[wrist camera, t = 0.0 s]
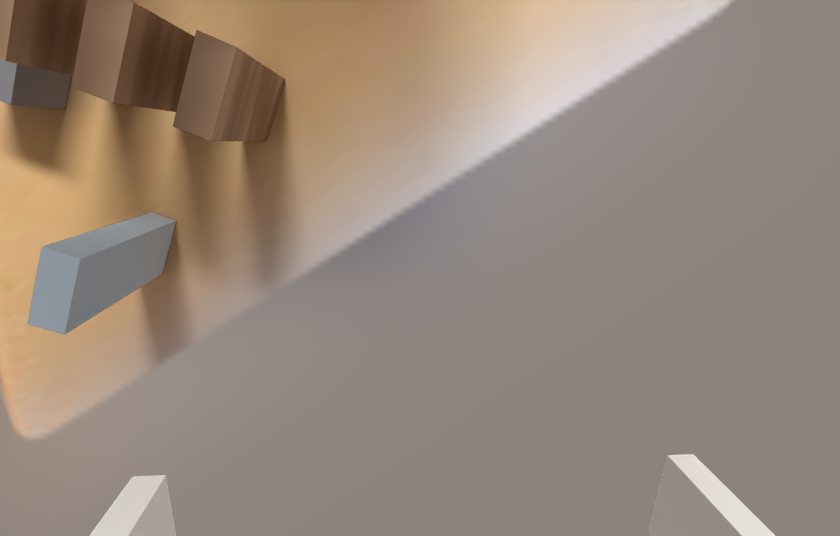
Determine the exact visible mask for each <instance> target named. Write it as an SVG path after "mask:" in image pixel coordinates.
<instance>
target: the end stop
mask: <svg viewBox="0 0 840 536" xmlns="http://www.w3.org/2000/svg"><path fill="white" fill-rule="evenodd" d="M71 76H72V75H68V74H64V73H59V72H54V71H49V70H45V69H40V68H35V67H31V66H26V65H21V64H17V63H12V62H7V61H4V60H1V59H0V101H3V102H5V103H8V104H11V105H20V106H30V107H41V108H51V109H61V110H65V108H66V103H67V97H68V92H69V86H70V81H71Z"/></svg>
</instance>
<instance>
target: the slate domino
mask: <svg viewBox="0 0 840 536" xmlns="http://www.w3.org/2000/svg"><path fill="white" fill-rule="evenodd" d="M175 224H176V220H173V219H170V218H167V217H164V216H161V215H159V214H156V213H153V212H150V213H147V214H144V215H141V216H137V217H134V218H131V219H128V220H125V221H122V222H119V223H115V224H112V225H109V226H106V227H103V228H100V229H96V230H93V231H90V232H87V233H84V234H81V235H78V236H74V237H71V238H68V239H65V240H62V241H59V242H56V243H52V244H49V245H46V246H43V247H42V248H41V253H40V259H39V264H38V270H37V275H36V280H35V286H34V291H33V297H32V302H31V308H30V313H29V318H28V324H29V325H33V326H36V327H40V328H43V329H47V330H50V331H54V332H57V333H61V334H66V333H68V332H69V331H71V330H72V329H74V328H76V327H77V326H79V325H81V324H82V323H84V322H85V321H87V320H89V319H90V318H92V317H93V316H95V315H97V314H98V313H100V312H101V311H103V310H105V309H106V308H108V307H110V306H111V305H113V304H114V303H116V302H118V301H119V300H121V299H122V298H124V297H126V296H127V295H129V294H130V293H132V292H134V291H135V290H137V289H138V288H140V287H142V286H143V285H145V284H147V283H148V282H150V281H151V280H153V279H155V278H156V277H158V276H159V275H161V274H162V273H163V270H164V266H165V262H166V258H167V254H168V250H169V247H170V243H171V239H172V235H173V231H174V228H175Z"/></svg>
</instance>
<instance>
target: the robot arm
mask: <svg viewBox="0 0 840 536" xmlns="http://www.w3.org/2000/svg"><path fill="white" fill-rule="evenodd" d="M648 533H649V535H650V536H775V535H774V534H773V533H772V532H771V531H770V530H769V529H768V528H767V527H766V526H765V525H764V524H763V523H762V522H761V521H760V520H759V519H758V518H757V517H756V516H755V515H754V514H753V513H752V512H751V511H750V510H749V509H748V508H747V507H746V506H745V505H744V504H743V503H742V502H741V501H740V500H739V499H738V498H736V496H735V495H734V494H733V493H732V492H730V490H728V488H726V486H725V485H724V484H723V483H722V482H720V480H719V479H718V478H717V477H716V476H715V475H714V474H713V473H711V472H710V470H709V469H708V468H707V467H706V466H705V465H704V464H702V463H701V462H700V461H699V460H698V459H697V458H696V457H695V456H694V455H693V454H690V455H668V456H667V460H666V464H665V468H664V472H663V476H662V480H661V484H660V487H659V492H658V495H657V499H656V503H655V507H654V511H653V515H652V519H651V523H650V527H649V531H648ZM90 536H176V532H175V526H174V520H173V514H172V508H171V503H170V496H169V490H168V483H167V477H166V475H157V476H134V477H132V478H131V479H130V481H129V482H128V484H127V485H126V486H125V488H124V489H123V490H122V492H121V493H120V495H119V496H118V497H117V499H116V500H115V502H114V503H113V504H112V506H111V507H110V508H109V510H108V511H107V512H106V514H105V515H104V517H103V518H102V519H101V521H100V522H99V524H98V525H97V527H96V528H95V529H94V530H93V532H92V533H91V534H90Z"/></svg>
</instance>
